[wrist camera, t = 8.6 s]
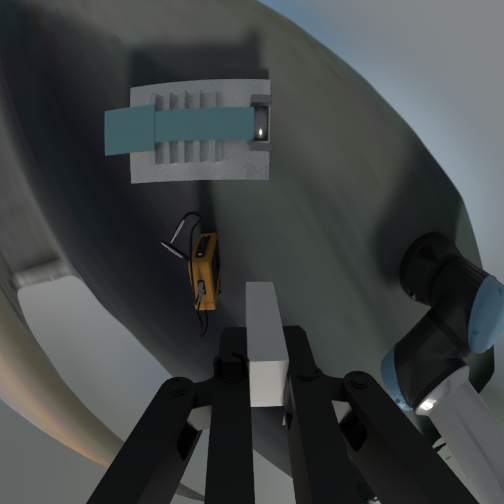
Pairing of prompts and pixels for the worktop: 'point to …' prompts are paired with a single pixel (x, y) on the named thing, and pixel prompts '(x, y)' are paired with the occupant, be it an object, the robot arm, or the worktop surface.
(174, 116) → the lever
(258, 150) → the heatsink base
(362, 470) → the robot arm
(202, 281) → the multimeter
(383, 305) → the worktop surface
